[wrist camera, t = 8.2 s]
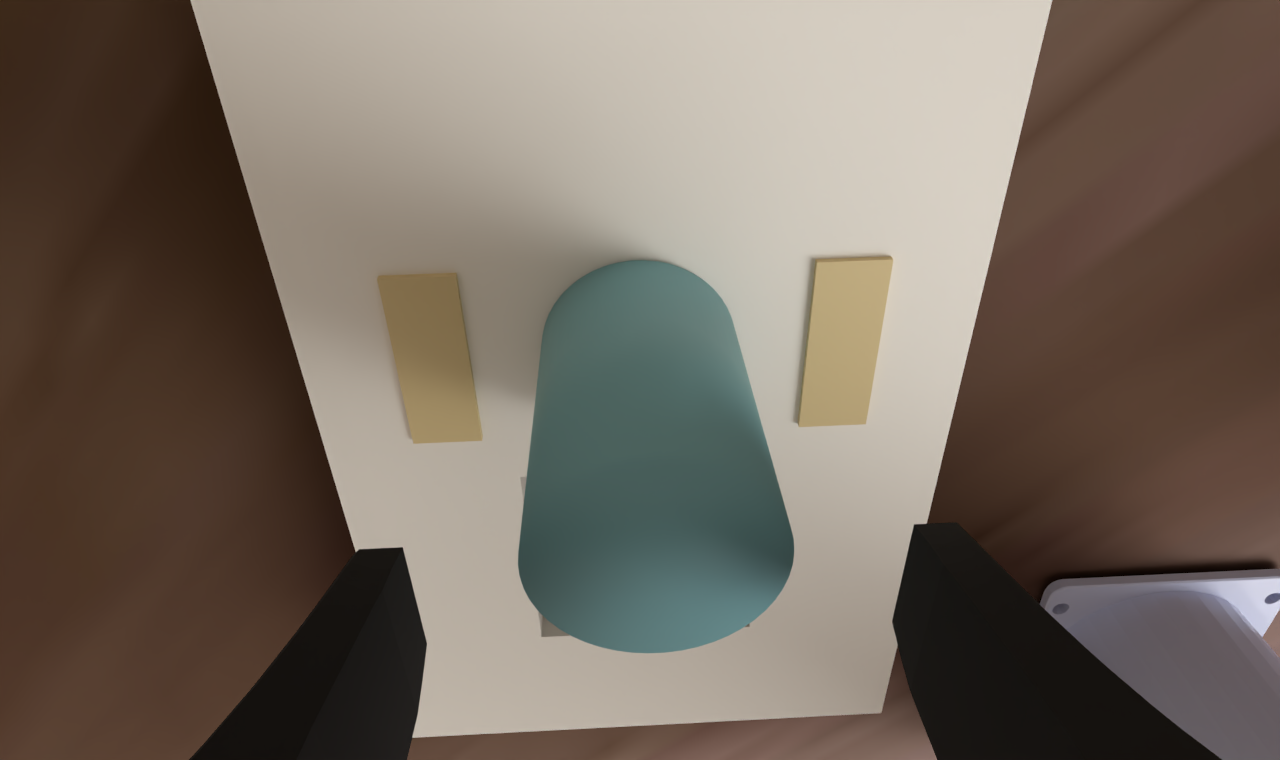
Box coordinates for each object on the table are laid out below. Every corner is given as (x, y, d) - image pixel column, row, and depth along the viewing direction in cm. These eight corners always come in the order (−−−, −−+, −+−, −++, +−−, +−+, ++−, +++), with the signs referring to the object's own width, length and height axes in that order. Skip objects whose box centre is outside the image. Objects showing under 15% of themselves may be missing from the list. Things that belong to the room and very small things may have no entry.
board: (852, 624, 27) (882, 717, 24) (430, 645, 27) (410, 742, 24) (979, -52, 16) (1063, -29, 13) (260, -32, 16) (184, -4, 13)
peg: (714, 354, 21) (784, 661, 13) (543, 350, 21) (509, 661, 13) (733, 190, 18) (833, 446, 11) (539, 184, 18) (496, 442, 10)
